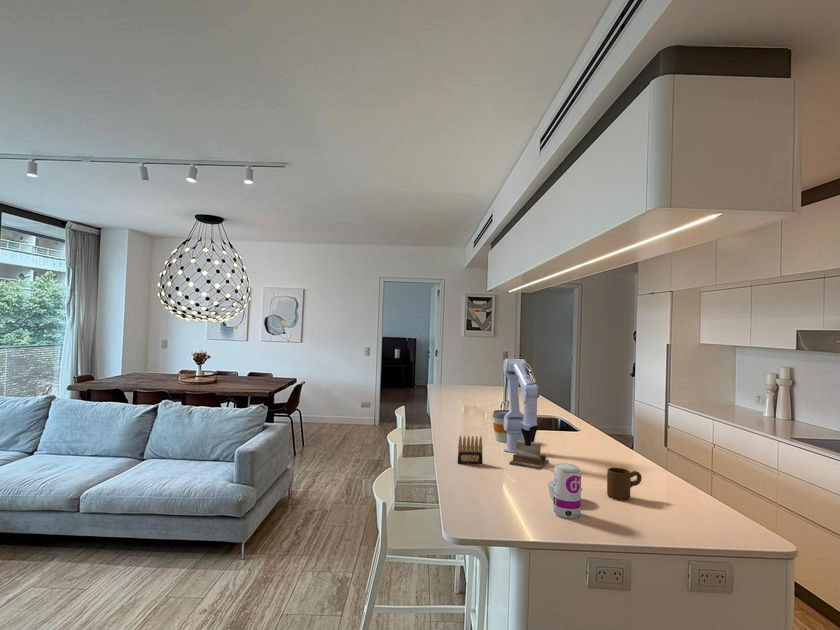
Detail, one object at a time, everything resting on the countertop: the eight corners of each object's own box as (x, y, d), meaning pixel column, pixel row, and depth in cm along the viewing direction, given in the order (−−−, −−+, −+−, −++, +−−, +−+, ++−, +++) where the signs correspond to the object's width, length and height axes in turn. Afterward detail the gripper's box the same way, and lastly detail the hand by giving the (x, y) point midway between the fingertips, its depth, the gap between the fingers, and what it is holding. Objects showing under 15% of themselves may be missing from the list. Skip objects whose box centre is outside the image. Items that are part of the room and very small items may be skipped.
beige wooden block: (517, 458, 215) (517, 440, 215) (540, 461, 211) (540, 442, 211) (516, 460, 212) (516, 441, 213) (539, 463, 208) (539, 444, 209)
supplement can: (585, 518, 150) (586, 469, 151) (562, 520, 148) (563, 470, 148) (570, 508, 158) (571, 462, 158) (548, 510, 156) (549, 463, 156)
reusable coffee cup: (495, 436, 263) (496, 409, 263) (518, 439, 258) (519, 411, 258) (489, 441, 251) (490, 412, 251) (513, 444, 246) (514, 414, 247)
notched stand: (520, 457, 221) (520, 449, 221) (548, 462, 214) (548, 454, 214) (509, 464, 209) (509, 456, 209) (539, 469, 202) (539, 461, 202)
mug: (635, 493, 174) (636, 467, 175) (646, 501, 167) (647, 473, 167) (603, 493, 174) (603, 467, 174) (612, 501, 166) (613, 473, 166)
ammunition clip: (482, 463, 209) (482, 435, 210) (482, 464, 208) (483, 436, 208) (457, 462, 210) (458, 434, 210) (457, 463, 208) (458, 435, 208)
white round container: (588, 505, 162) (588, 489, 162) (558, 507, 159) (558, 491, 159) (570, 493, 173) (570, 478, 173) (541, 495, 170) (542, 480, 170)
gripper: (524, 409, 220) (523, 439, 220) (517, 414, 207) (516, 446, 207) (540, 410, 218) (539, 441, 217) (534, 415, 204) (533, 448, 204)
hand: (529, 443), depth 212 cm, fingers open, 7 cm apart
